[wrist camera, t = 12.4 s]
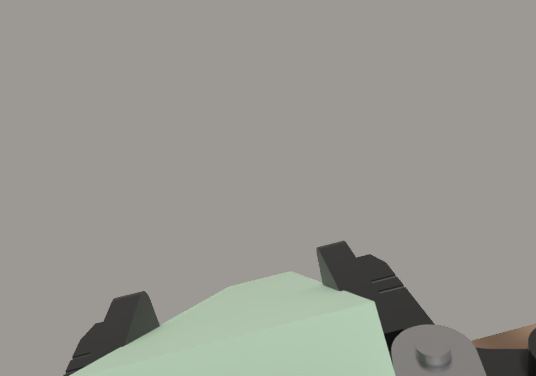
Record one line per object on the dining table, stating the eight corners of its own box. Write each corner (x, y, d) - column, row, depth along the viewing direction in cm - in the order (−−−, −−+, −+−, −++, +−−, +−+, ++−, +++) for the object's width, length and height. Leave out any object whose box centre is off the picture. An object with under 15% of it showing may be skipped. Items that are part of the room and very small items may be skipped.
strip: (83, 582, 5) (55, 383, 6) (237, 320, 29) (229, 286, 29) (427, 487, 5) (374, 301, 6) (298, 304, 29) (290, 271, 29)
